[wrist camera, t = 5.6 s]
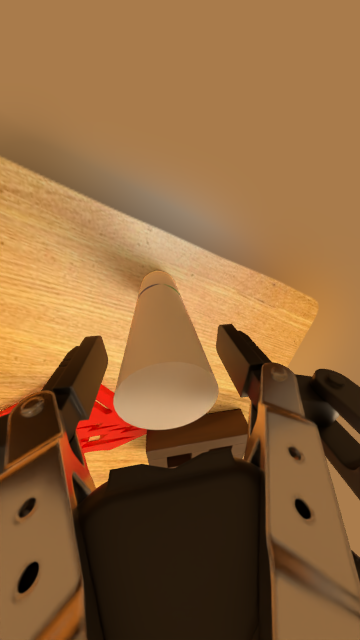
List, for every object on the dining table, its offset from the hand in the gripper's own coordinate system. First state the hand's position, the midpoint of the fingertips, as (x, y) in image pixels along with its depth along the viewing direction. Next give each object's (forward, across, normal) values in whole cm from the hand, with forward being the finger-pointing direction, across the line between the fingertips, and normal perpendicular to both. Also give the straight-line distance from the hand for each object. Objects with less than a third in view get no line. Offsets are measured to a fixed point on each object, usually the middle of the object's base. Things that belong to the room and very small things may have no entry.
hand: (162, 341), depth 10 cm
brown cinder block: (+11, -6, +34) cm, 37 cm away
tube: (+11, 0, 0) cm, 11 cm away
